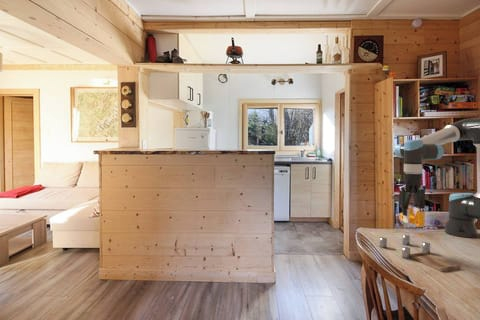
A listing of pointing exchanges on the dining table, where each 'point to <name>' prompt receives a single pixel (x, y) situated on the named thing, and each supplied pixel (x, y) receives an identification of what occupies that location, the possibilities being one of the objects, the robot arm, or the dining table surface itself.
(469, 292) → the dining table surface
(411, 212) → the pipe clamp
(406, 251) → the spacers
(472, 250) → the dining table surface
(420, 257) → the board
